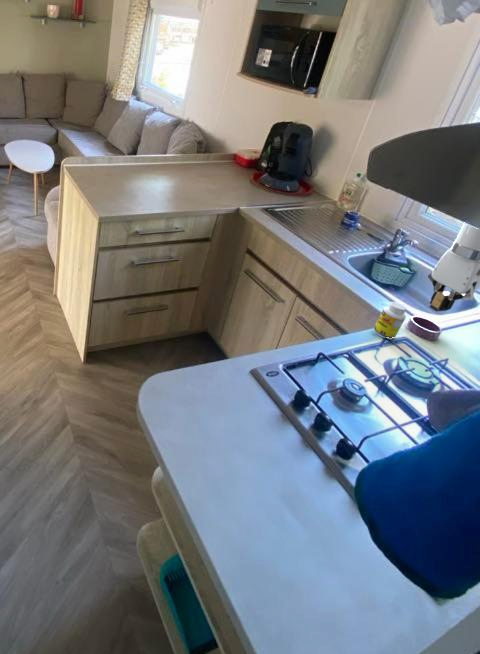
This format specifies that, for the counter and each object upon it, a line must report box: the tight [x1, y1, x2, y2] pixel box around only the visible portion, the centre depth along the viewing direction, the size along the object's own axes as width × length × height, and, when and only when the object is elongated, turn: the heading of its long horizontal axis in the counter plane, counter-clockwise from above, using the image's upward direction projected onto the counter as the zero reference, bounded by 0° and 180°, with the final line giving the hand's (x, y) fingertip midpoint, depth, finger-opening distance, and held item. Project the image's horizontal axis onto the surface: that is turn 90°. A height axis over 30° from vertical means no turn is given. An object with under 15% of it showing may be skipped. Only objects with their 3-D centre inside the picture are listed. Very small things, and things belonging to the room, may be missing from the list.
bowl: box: [406, 315, 443, 341], centre depth 128 cm, size 8×8×3 cm
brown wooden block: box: [429, 290, 451, 312], centre depth 124 cm, size 4×2×6 cm, turn 104°
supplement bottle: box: [373, 301, 407, 340], centre depth 122 cm, size 6×6×10 cm
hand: (439, 306), depth 125 cm, fingers closed on brown wooden block, 2 cm apart
